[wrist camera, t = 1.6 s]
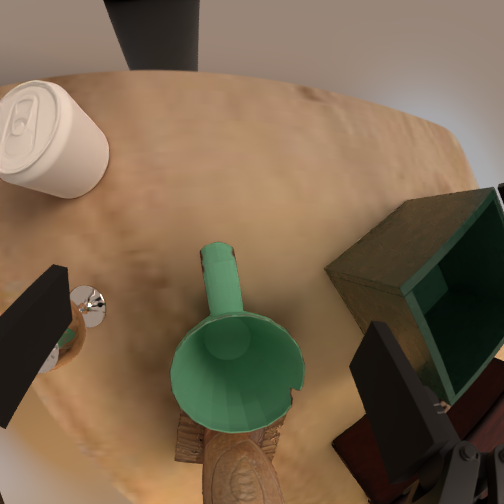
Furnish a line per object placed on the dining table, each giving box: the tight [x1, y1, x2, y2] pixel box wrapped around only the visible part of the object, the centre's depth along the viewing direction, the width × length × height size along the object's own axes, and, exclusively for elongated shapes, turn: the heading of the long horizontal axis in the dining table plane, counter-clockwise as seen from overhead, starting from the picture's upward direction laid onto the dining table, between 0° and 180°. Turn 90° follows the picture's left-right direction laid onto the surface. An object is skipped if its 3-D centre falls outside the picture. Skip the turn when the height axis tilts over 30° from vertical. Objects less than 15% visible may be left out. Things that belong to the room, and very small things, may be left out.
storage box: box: [332, 357, 504, 504], centre depth 29 cm, size 39×23×15 cm, turn 36°
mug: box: [170, 242, 305, 433], centre depth 26 cm, size 15×10×10 cm
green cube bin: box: [324, 187, 504, 406], centre depth 27 cm, size 14×14×14 cm
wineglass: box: [38, 285, 106, 373], centre depth 22 cm, size 6×6×12 cm
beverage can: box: [0, 80, 109, 198], centre depth 22 cm, size 8×8×12 cm
